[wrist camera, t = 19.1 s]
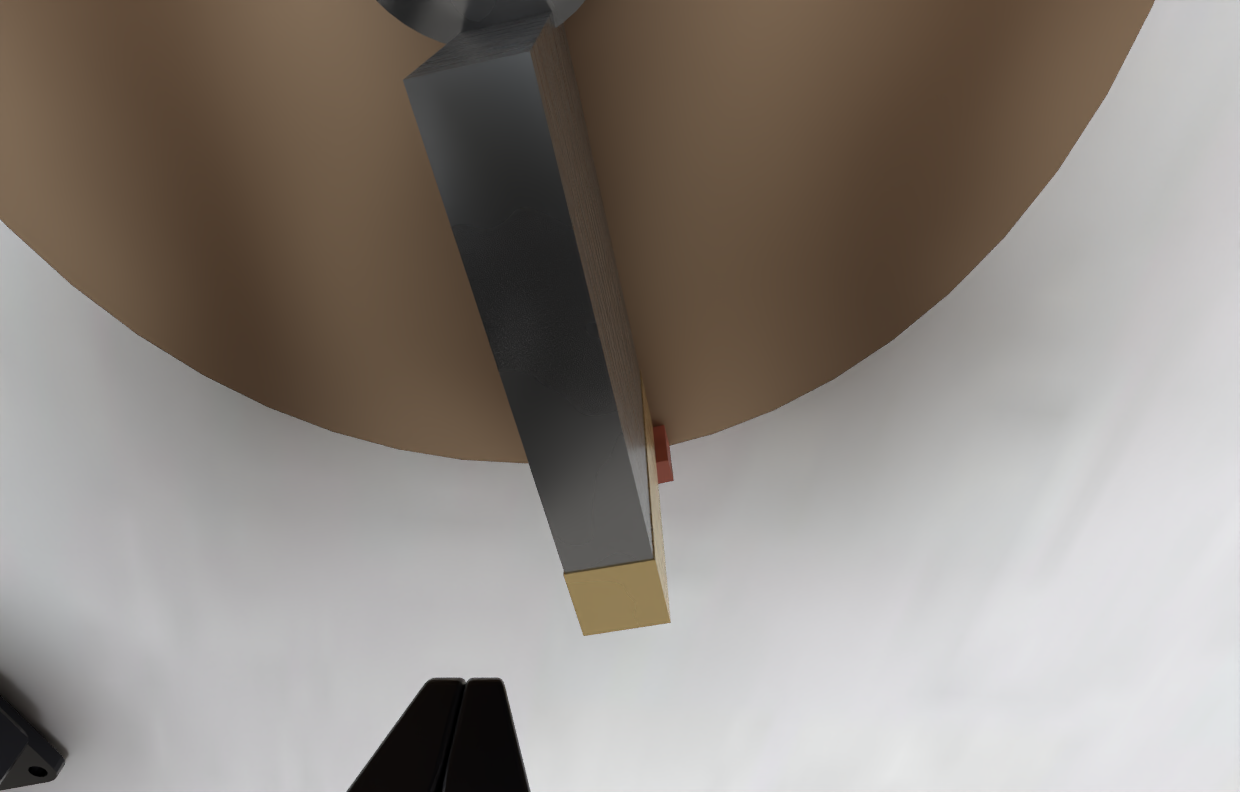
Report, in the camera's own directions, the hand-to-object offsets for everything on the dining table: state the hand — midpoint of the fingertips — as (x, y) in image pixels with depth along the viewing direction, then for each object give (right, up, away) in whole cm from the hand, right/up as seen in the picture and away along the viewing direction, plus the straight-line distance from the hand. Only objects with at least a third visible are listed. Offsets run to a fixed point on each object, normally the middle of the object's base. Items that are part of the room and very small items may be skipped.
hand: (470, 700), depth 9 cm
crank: (+1, +7, +4) cm, 8 cm away
